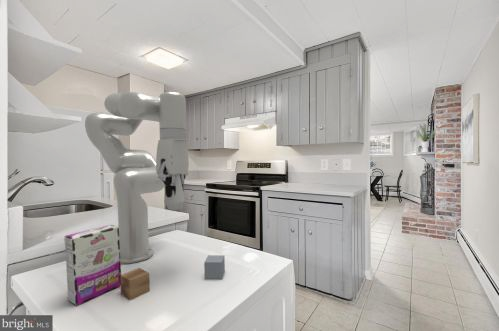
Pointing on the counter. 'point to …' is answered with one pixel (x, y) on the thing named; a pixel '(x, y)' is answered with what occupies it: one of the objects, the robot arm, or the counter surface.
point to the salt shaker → (175, 196)
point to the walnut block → (135, 283)
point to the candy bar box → (92, 263)
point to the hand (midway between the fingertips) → (174, 197)
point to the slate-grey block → (214, 267)
